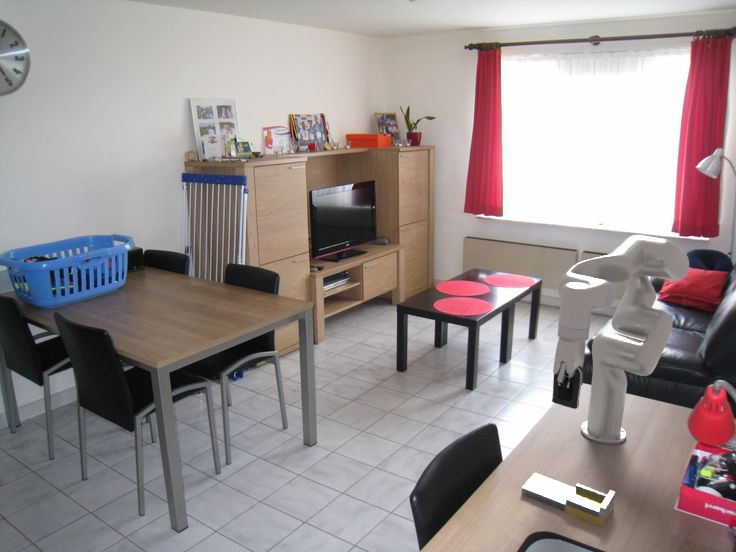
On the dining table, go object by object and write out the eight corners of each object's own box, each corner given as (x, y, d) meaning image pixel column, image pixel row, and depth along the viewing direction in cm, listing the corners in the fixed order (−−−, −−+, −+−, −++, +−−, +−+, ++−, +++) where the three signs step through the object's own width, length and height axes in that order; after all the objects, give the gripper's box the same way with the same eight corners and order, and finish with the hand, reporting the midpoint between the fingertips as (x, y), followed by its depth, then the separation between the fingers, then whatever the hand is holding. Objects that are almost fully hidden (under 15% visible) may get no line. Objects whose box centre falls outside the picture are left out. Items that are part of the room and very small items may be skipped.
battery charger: (581, 405, 157) (586, 364, 154) (576, 410, 155) (581, 369, 151) (556, 397, 162) (559, 358, 158) (550, 402, 159) (554, 362, 156)
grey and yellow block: (534, 479, 157) (535, 462, 156) (613, 509, 145) (615, 491, 144) (521, 494, 151) (523, 476, 149) (602, 527, 139) (605, 508, 138)
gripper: (570, 319, 161) (564, 381, 166) (546, 337, 148) (540, 404, 153) (598, 325, 157) (591, 389, 162) (576, 344, 144) (569, 413, 149)
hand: (566, 395), depth 157 cm, fingers closed on battery charger, 3 cm apart
